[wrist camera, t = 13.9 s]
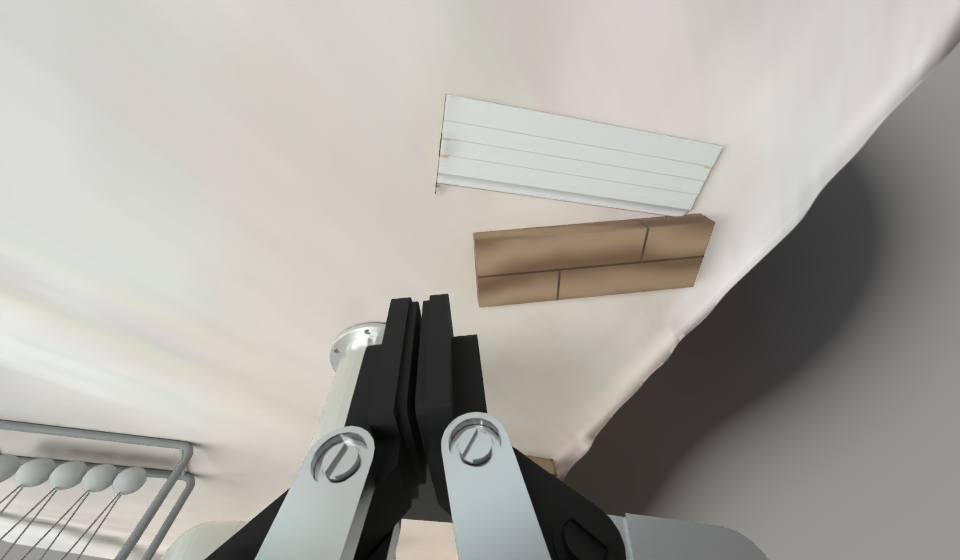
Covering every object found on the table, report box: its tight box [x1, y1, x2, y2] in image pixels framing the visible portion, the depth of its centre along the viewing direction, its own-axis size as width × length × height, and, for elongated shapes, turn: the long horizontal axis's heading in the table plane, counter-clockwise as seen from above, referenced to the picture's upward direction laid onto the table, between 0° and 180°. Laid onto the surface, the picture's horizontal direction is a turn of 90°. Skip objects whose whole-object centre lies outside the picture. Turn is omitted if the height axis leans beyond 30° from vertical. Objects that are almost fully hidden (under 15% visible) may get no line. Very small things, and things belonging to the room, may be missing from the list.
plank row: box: [473, 214, 715, 307], centre depth 42 cm, size 9×28×3 cm, turn 93°
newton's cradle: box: [0, 420, 195, 560], centre depth 47 cm, size 30×10×18 cm, turn 69°
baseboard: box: [435, 94, 723, 216], centre depth 37 cm, size 30×3×10 cm
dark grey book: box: [401, 456, 558, 523], centre depth 68 cm, size 33×4×24 cm
